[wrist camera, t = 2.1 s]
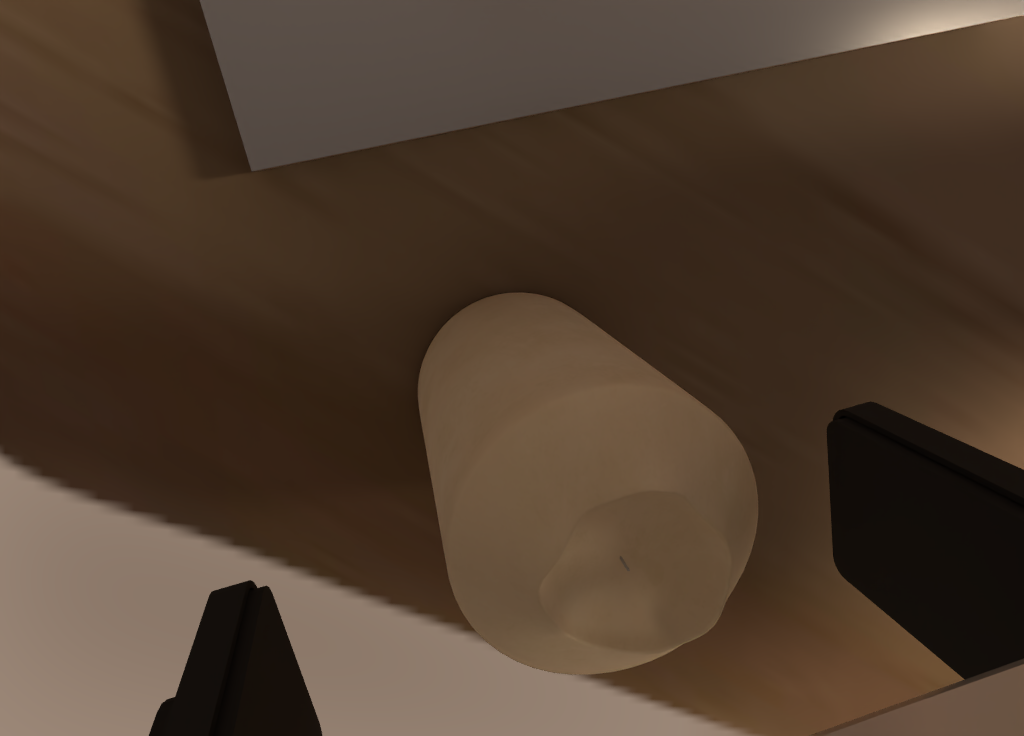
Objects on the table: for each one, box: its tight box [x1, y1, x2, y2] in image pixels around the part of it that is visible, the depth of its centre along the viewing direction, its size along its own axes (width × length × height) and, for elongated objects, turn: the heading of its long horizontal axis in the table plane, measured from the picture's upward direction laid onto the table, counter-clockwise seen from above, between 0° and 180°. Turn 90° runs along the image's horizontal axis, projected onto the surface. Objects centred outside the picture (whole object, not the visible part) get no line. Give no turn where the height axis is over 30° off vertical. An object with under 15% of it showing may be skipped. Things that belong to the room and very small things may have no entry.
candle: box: [418, 292, 758, 674], centre depth 15 cm, size 6×6×10 cm
